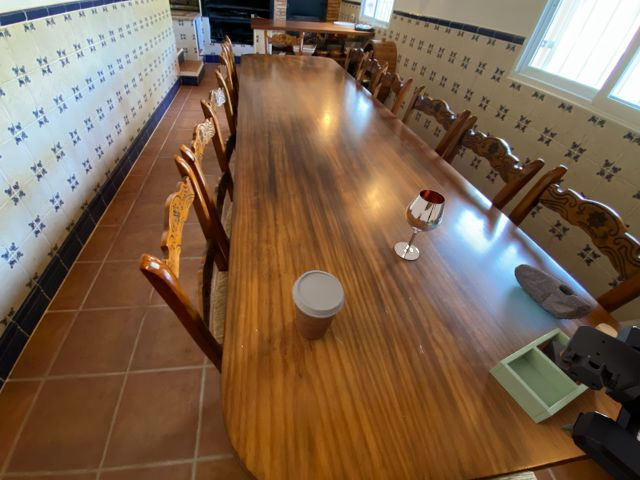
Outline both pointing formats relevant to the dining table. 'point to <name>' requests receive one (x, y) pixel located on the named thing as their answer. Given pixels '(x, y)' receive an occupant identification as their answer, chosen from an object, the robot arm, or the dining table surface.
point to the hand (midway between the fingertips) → (577, 404)
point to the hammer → (556, 349)
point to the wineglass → (421, 219)
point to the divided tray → (537, 378)
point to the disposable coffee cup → (316, 302)
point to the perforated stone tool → (551, 293)
